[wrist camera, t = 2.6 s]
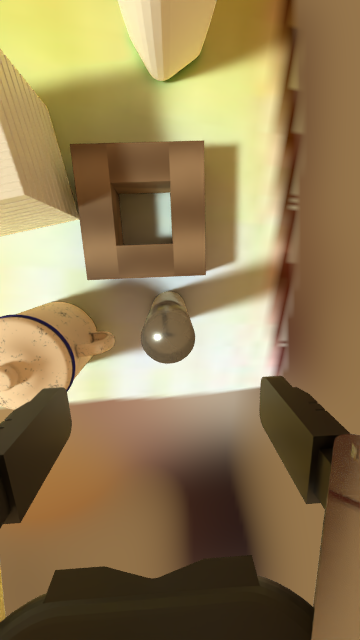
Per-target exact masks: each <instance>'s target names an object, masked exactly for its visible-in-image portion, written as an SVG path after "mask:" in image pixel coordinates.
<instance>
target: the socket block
mask: <svg viewBox="0 0 360 640" xmlns="http://www.w3.org/2000/svg"><path fill="white" fill-rule="evenodd" d="M70 149H71V156H72V164H73V172H74V179H75V187H76V195H77V203H78V210H79V218H80V226H81V233H82V241H83V249H84V257H85V264H86V272H87V280H100V279H123V278H147V277H170V276H194V275H206V259H205V185H204V141H174V142H136V143H98V144H70ZM166 192H170V198H171V220H172V243H173V244H149V245H123V235H122V224H121V213H120V202H119V194H135V193H166Z"/></svg>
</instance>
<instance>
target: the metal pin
mask: <svg viewBox="0 0 360 640" xmlns="http://www.w3.org/2000/svg"><path fill="white" fill-rule="evenodd" d="M141 342H142V346H143V348H144V350H145V352H146V353H147V354H148V355H149V356H150V357H151V358H152V359H154V360H155V361H158V362H161V363H175V362H178V361H181V360H182V359H184V358H185V357H186V356H188V354H189V353H190V352H191V350H192V349H193V346H194V343H195V333H194V329H193V326H192V323H191V320H190V317H189V315H188V312H187V309H186V306H185V303H184V300H183V299H182V297H181V296H180V295H179V294H177V293H175V292H171V291H166V292H163V293H160V294H159V295H158V296H157V297H156V298H155V299H154V302H153V304H152V307H151V309H150V312H149V314H148V317H147V319H146V322H145V325H144V327H143V330H142V334H141Z"/></svg>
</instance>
